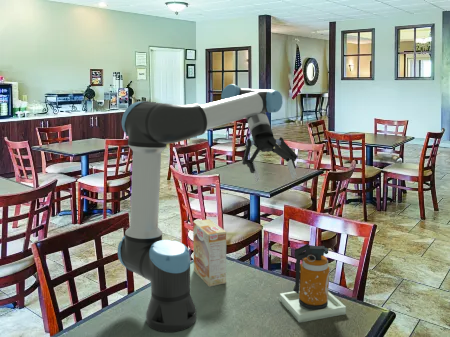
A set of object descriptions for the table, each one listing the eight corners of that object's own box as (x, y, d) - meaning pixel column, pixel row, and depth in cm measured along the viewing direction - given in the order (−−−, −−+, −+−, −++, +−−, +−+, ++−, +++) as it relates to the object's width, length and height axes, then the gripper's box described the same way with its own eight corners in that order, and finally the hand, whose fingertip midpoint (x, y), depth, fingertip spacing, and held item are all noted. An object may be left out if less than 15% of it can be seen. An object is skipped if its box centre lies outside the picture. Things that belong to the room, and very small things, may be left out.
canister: (327, 313, 141) (331, 252, 137) (291, 309, 143) (293, 249, 139) (327, 299, 149) (330, 241, 145) (293, 295, 152) (295, 238, 147)
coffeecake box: (192, 270, 173) (192, 221, 169) (210, 266, 176) (210, 218, 172) (208, 287, 160) (208, 234, 155) (226, 283, 163) (227, 231, 158)
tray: (299, 322, 138) (299, 315, 137) (279, 300, 151) (279, 293, 150) (345, 314, 143) (346, 306, 142) (322, 293, 156) (323, 286, 155)
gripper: (288, 134, 174) (305, 181, 163) (225, 137, 166) (239, 187, 156) (295, 121, 168) (313, 170, 157) (230, 124, 160) (245, 175, 150)
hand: (276, 178), depth 156 cm, fingers open, 13 cm apart
